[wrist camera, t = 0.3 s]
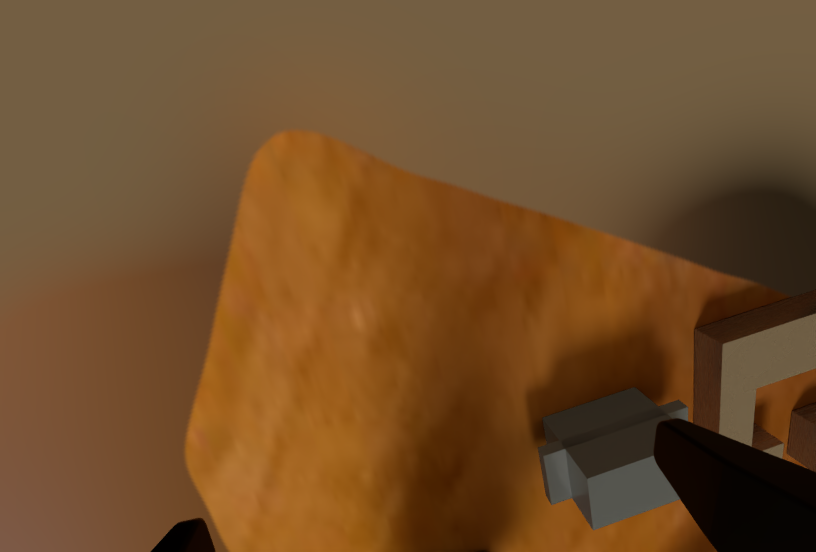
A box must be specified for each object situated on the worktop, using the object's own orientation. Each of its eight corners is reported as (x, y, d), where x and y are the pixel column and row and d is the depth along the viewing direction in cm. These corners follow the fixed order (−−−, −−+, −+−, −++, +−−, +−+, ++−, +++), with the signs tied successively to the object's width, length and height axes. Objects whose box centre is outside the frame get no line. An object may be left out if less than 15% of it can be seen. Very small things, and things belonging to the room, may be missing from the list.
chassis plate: (844, 433, 32) (875, 452, 30) (693, 487, 31) (716, 509, 29) (873, 270, 27) (914, 280, 25) (694, 328, 26) (722, 344, 24)
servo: (656, 466, 29) (717, 528, 25) (538, 507, 29) (577, 580, 24) (653, 380, 27) (720, 432, 22) (522, 424, 26) (563, 487, 21)
